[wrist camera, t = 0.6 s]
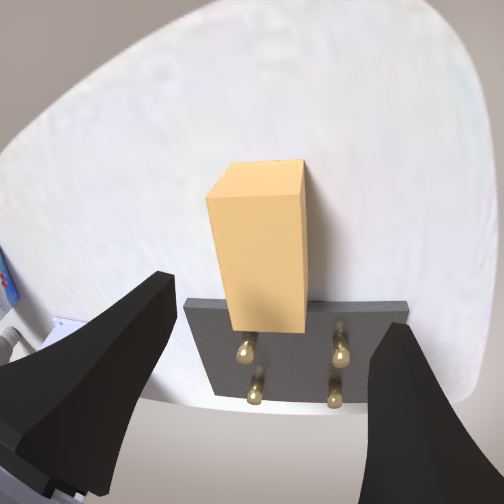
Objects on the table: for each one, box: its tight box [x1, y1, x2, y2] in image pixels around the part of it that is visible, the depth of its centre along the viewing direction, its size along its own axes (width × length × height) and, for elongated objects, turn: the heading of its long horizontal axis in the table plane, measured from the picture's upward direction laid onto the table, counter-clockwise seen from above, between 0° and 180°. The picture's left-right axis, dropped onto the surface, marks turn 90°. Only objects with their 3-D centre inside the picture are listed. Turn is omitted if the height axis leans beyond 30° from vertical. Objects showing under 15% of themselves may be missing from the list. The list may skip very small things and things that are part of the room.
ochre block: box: [205, 160, 309, 333], centre depth 18 cm, size 4×8×5 cm, turn 7°
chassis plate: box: [183, 298, 409, 409], centre depth 24 cm, size 16×12×3 cm
